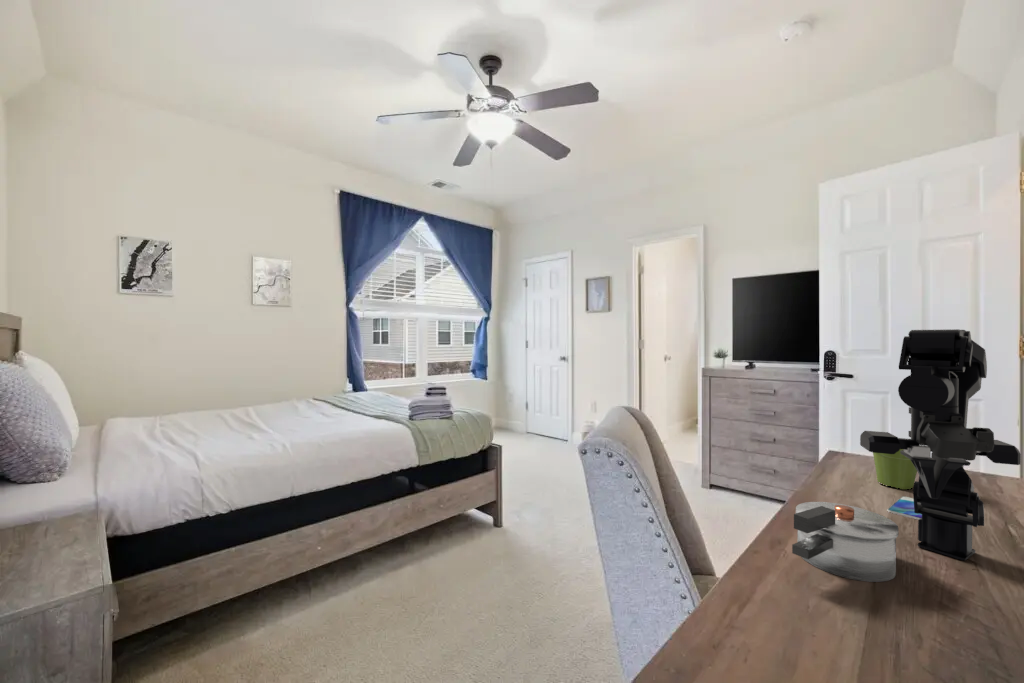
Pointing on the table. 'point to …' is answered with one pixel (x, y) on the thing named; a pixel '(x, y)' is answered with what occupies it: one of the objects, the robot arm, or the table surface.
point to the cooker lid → (844, 521)
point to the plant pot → (895, 470)
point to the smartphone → (904, 508)
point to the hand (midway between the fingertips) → (933, 497)
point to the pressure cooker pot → (848, 555)
